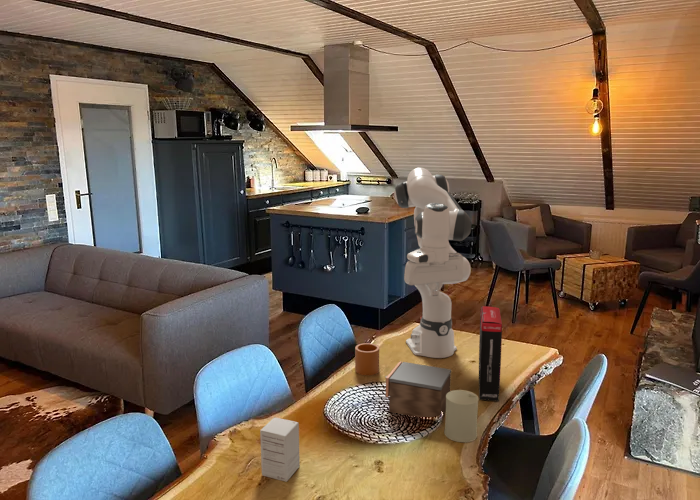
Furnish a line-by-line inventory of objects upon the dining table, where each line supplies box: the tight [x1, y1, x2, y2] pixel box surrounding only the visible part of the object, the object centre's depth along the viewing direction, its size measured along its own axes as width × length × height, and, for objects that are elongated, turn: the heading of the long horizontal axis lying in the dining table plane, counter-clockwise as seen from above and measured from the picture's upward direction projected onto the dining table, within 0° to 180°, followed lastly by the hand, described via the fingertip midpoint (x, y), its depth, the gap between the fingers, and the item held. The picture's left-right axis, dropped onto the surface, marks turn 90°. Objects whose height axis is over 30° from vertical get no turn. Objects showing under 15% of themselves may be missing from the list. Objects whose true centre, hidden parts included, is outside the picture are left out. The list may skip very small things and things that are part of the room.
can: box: [443, 389, 480, 443], centre depth 156 cm, size 9×9×12 cm
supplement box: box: [259, 417, 301, 482], centre depth 138 cm, size 7×7×13 cm
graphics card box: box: [478, 305, 503, 402], centre depth 182 cm, size 17×7×27 cm, turn 168°
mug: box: [354, 342, 380, 376], centre depth 201 cm, size 9×12×9 cm
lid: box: [385, 360, 452, 398], centre depth 171 cm, size 17×14×6 cm
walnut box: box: [388, 373, 452, 417], centre depth 172 cm, size 16×14×10 cm
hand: (433, 295), depth 178 cm, fingers closed
